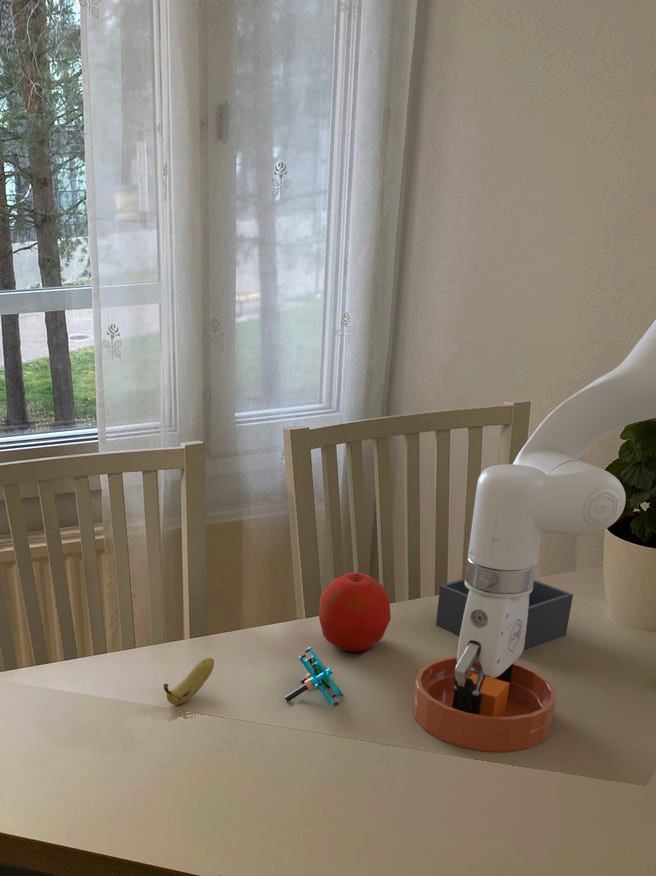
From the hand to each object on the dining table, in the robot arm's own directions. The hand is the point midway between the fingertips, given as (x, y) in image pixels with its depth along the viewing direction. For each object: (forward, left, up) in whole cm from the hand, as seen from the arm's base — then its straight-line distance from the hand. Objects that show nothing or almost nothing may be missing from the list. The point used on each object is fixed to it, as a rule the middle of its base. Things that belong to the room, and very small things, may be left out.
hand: (480, 704), depth 112 cm
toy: (0, 0, -2) cm, 2 cm away
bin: (-23, -17, -2) cm, 29 cm away
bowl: (0, 0, -2) cm, 2 cm away
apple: (-1, -25, -3) cm, 25 cm away
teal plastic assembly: (+13, -17, -3) cm, 21 cm away
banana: (+27, -25, -3) cm, 37 cm away
